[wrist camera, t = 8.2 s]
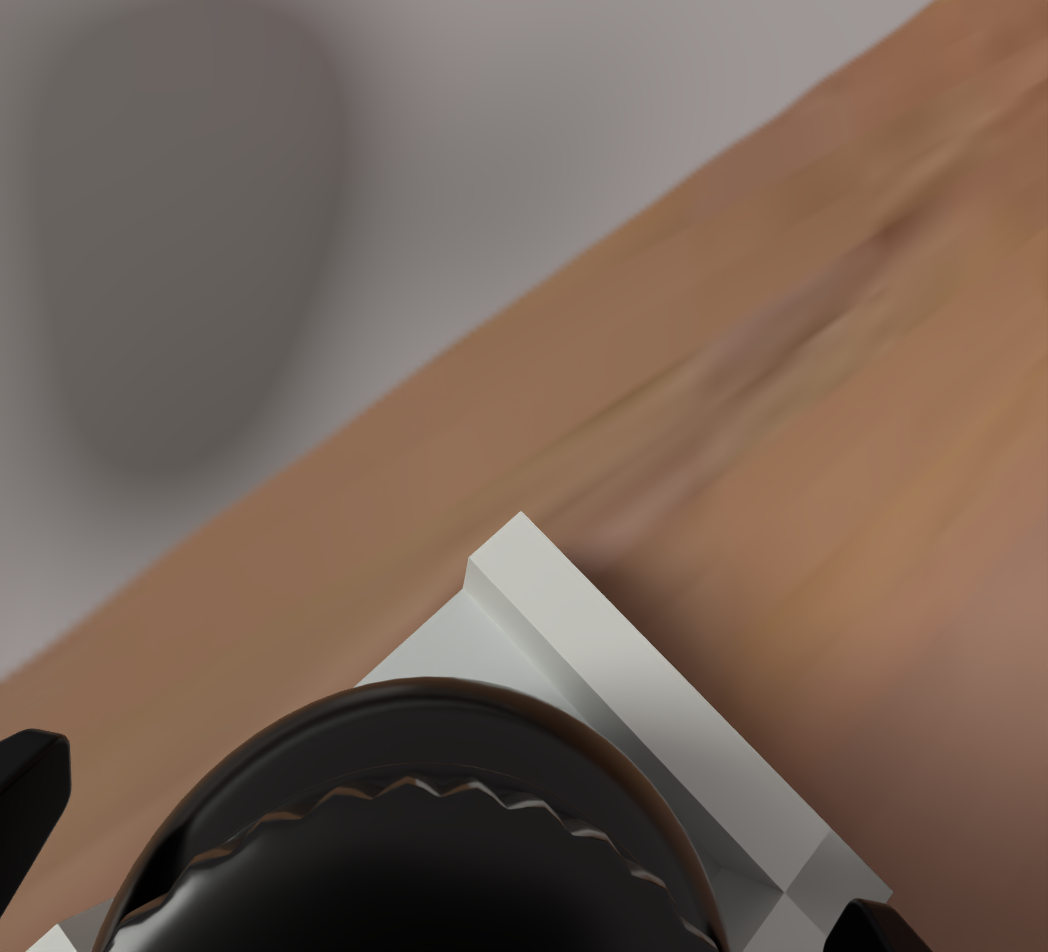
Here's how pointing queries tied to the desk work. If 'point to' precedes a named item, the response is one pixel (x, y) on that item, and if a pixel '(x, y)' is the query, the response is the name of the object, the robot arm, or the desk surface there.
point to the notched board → (627, 740)
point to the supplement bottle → (420, 838)
